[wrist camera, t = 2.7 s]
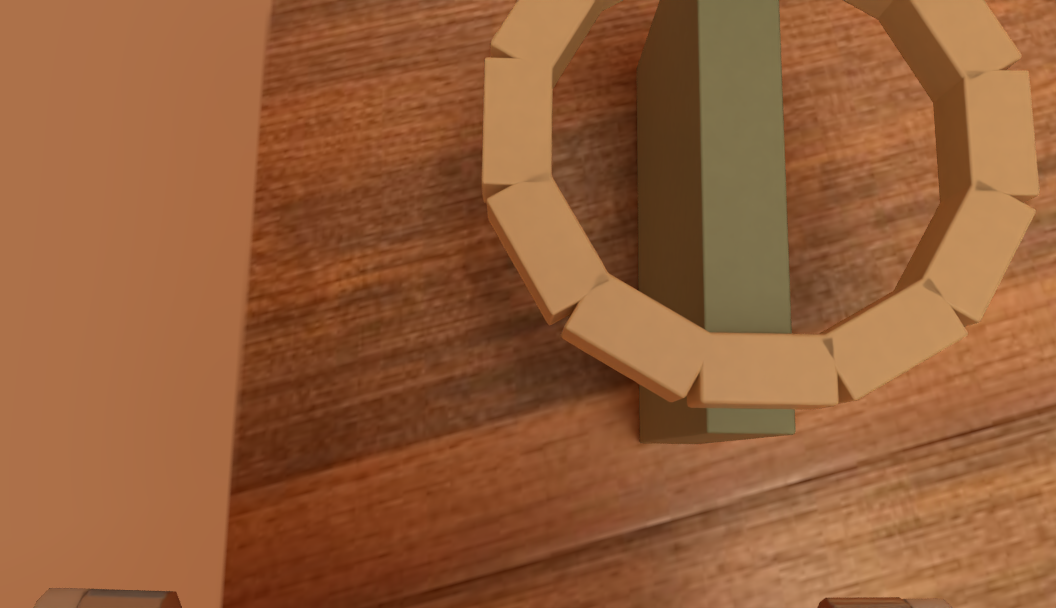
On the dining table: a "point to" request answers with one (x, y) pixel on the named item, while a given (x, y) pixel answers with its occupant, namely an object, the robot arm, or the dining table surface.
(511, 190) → the segmented block ring
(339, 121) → the dining table surface
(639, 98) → the olive green rectangular slab
